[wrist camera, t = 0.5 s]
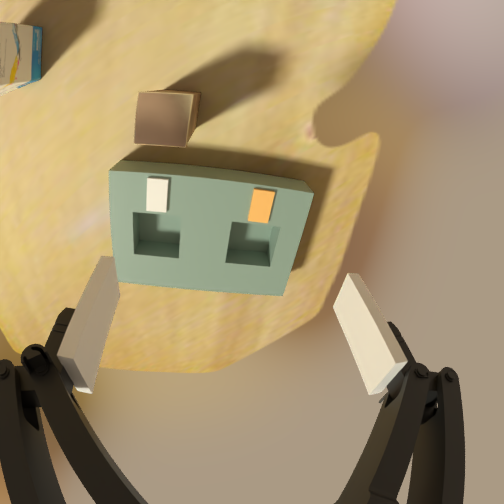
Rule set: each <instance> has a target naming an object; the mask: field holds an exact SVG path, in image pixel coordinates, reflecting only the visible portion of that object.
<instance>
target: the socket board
mask: <svg viewBox="0 0 504 504" xmlns="http://www.w3.org/2000/svg"><path fill="white" fill-rule="evenodd" d="M313 196H314V193H313V191H312V190H311V189H310V188H309V186H308V185H307V184H306V183H305V181H302V180H297V179H291V178H285V177H279V176H272V175H266V174H259V173H252V172H245V171H238V170H230V169H222V168H213V167H204V166H195V165H184V164H173V163H160V162H146V161H128V160H120V161H119V162H118V163H117V164H116V165H115V166H114V167H112V168H111V169H110V170H109V203H110V223H111V237H112V249H113V257H114V258H115V265H116V272H117V279H118V282H124V283H133V284H142V285H151V286H161V287H171V288H181V289H192V290H203V291H215V292H228V293H242V294H257V295H273V296H283V293H284V290H285V287H286V284H287V281H288V278H289V275H290V272H291V269H292V265H293V262H294V259H295V256H296V253H297V250H298V246H299V243H300V240H301V236H302V233H303V230H304V227H305V223H306V220H307V216H308V213H309V210H310V206H311V203H312V199H313Z"/></svg>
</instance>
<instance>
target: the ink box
mask: <svg viewBox="0 0 504 504" xmlns="http://www.w3.org/2000/svg"><path fill="white" fill-rule="evenodd" d="M41 48H42V27H37V26H31V25H23V24H15V23H6V22H0V96H2V95H4V94H6V93H9V92H11V91H13V90H16V89H18V88H20V87H22V86H25V85H27V84H30V83H32V82H35V81H38V80H40V79H41Z"/></svg>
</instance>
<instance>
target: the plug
mask: <svg viewBox="0 0 504 504" xmlns="http://www.w3.org/2000/svg"><path fill="white" fill-rule="evenodd" d="M200 96H201V93H200V92H189V91H175V90H157V91H147V92H138V99H137V108H136V118H135V130H134V144H140V145H157V146H171V147H183V148H186V146H187V143H188V141H189V139H190V137H191V136H192V134H193V132H194V130H195V129H196V122H197V115H198V109H199V102H200Z"/></svg>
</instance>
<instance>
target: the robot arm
mask: <svg viewBox="0 0 504 504" xmlns="http://www.w3.org/2000/svg"><path fill="white" fill-rule="evenodd" d="M119 298H120V291H119V285H118V279H117V272H116V265H115V258H114V257H109V256H101V258H100V260H99V262H98V264H97V266H96V268H95V269H94V271H93V273H92V275H91V277H90V279H89V281H88V283H87V286H86V288H85V290H84V292H83V294H82V296H81V298H80V300H79V303H78V305H77V307H76V309H72V308H65V309H64V310H63V311H62V312H61V313H60V314H59V315H58V318H57V320H56V322H55V325H54V326H53V328H52V331H51V333H50V335H49V338H48V340H47V342H46V345H45V347H43V346H42V345H40V344H32V345H29V346H28V347H26V348H25V349H24V351H23V352H22V355H21V363H22V364H23V366H14V365H13V364H12V362H11V361H9V360H5V359H3V360H0V461H1V466H2V471H3V475H4V479H5V482H6V487H7V490H8V494H9V497H10V500H11V504H66V502H65V500H64V497H63V494H62V492H61V489H60V486H59V484H58V480H57V477H56V474H55V471H54V468H53V465H52V462H51V458H50V454H49V450H48V447H47V442H46V438H45V434H44V429H43V425H42V420H41V414H40V409H39V407H42V409H43V411H44V413H45V416H46V418H47V420H48V422H49V425H50V427H51V429H52V431H53V433H54V435H55V437H56V439H57V441H58V443H59V445H60V447H61V449H62V450H63V452H64V454H65V456H66V458H67V459H68V461H69V463H70V465H71V466H72V468H73V470H74V471H75V473H76V474H77V476H78V478H79V479H80V481H81V482H82V484H83V485H84V487H85V488H86V490H87V491H88V493H89V494H90V496H91V497H92V499H93V500H94V501H95V503H96V504H148V503H147V502H146V501H145V500H144V498H142V496H141V495H140V494H139V493H138V491H137V490H136V489H135V488H134V487H133V486H132V484H131V483H130V482H129V481H128V479H127V478H126V477H125V475H124V474H123V473H122V471H121V470H120V469H119V467H118V466H117V465H116V463H115V462H114V460H113V459H112V458H111V456H110V455H109V453H108V452H107V450H106V449H105V447H104V446H103V444H102V443H101V441H100V440H99V438H98V437H97V435H96V434H95V432H94V430H93V429H92V427H91V425H90V424H89V422H88V420H87V418H86V417H85V415H84V413H83V411H82V410H81V408H80V406H79V404H78V403H77V400H76V399H75V397H74V395H73V393H72V389H73V385H74V386H75V387H76V389H77V390H78V391H81V392H86V393H91V394H92V393H93V388H94V384H95V380H96V376H97V372H98V368H99V364H100V360H101V357H102V353H103V349H104V346H105V342H106V339H107V336H108V332H109V329H110V326H111V323H112V319H113V316H114V313H115V310H116V307H117V304H118V301H119ZM333 308H334V310H335V313H336V315H337V318H338V320H339V322H340V325H341V327H342V329H343V332H344V334H345V336H346V339H347V341H348V344H349V346H350V348H351V351H352V353H353V356H354V358H355V361H356V363H357V366H358V368H359V370H360V373H361V376H362V378H363V381H364V383H365V386H366V388H367V391H368V394H369V395H371V394H377V393H381V392H382V391H383V390H384V388H385V387H386V386H387V389H388V392H387V393H386V394H385V395H384V396H383V398H382V399H381V400H380V401H379V403H381V402H382V401H383V400H384V401H383V404H382V407H381V409H380V412H379V415H378V417H377V420H376V422H375V425H374V427H373V430H372V432H371V435H370V437H369V439H368V442H367V444H366V446H365V448H364V450H363V453H362V455H361V457H360V459H359V461H358V463H357V465H356V467H355V469H354V471H353V473H352V475H351V477H350V479H349V481H348V483H347V485H346V487H345V488H344V490H343V492H342V494H341V496H340V497H339V499H338V500H337V501H336V503H334V504H399V503H398V501H397V500H396V498H397V495H398V492H399V490H400V487H401V485H402V482H403V479H404V477H405V474H406V471H407V468H408V465H409V462H410V459H411V456H412V453H413V460H412V470H411V478H410V486H409V493H408V499H407V504H463V497H464V481H465V437H464V421H463V410H462V400H461V392H460V385H459V378H458V375H457V373H456V372H455V371H454V370H453V369H452V368H449V367H445V368H443V369H442V370H441V371H440V372H439V373H437V372H430V371H429V370H428V369H427V367H426V366H424V365H423V364H420V363H416V361H415V359H414V357H413V356H412V354H411V352H410V350H409V348H408V346H407V344H406V342H405V341H404V339H403V337H401V333H400V332H399V330H398V328H397V327H396V326H395V325H394V324H393V323H392V322H387V321H386V320H385V318H384V316H383V314H382V313H381V311H380V309H379V307H378V306H377V304H376V302H375V300H374V299H373V297H372V296H371V294H370V292H369V290H368V289H367V287H366V285H365V284H364V282H363V280H362V279H361V277H360V275H359V274H353V273H348V274H347V276H346V279H345V281H344V283H343V285H342V288H341V290H340V292H339V295H338V297H337V299H336V301H335V304H334V306H333ZM437 403H438V408H437Z"/></svg>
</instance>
